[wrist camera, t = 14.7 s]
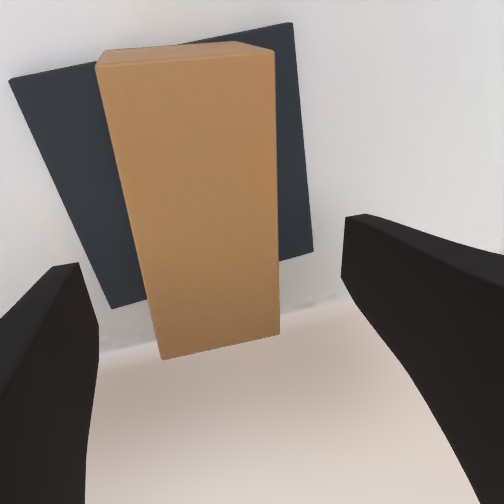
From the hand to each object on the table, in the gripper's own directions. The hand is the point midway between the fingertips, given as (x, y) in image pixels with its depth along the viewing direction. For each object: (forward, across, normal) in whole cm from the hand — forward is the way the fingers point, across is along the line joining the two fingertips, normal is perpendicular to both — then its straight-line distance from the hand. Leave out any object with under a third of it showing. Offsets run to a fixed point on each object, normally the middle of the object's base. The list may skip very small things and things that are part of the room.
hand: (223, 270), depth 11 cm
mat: (+7, 0, 0) cm, 7 cm away
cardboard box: (+7, 0, 0) cm, 7 cm away
